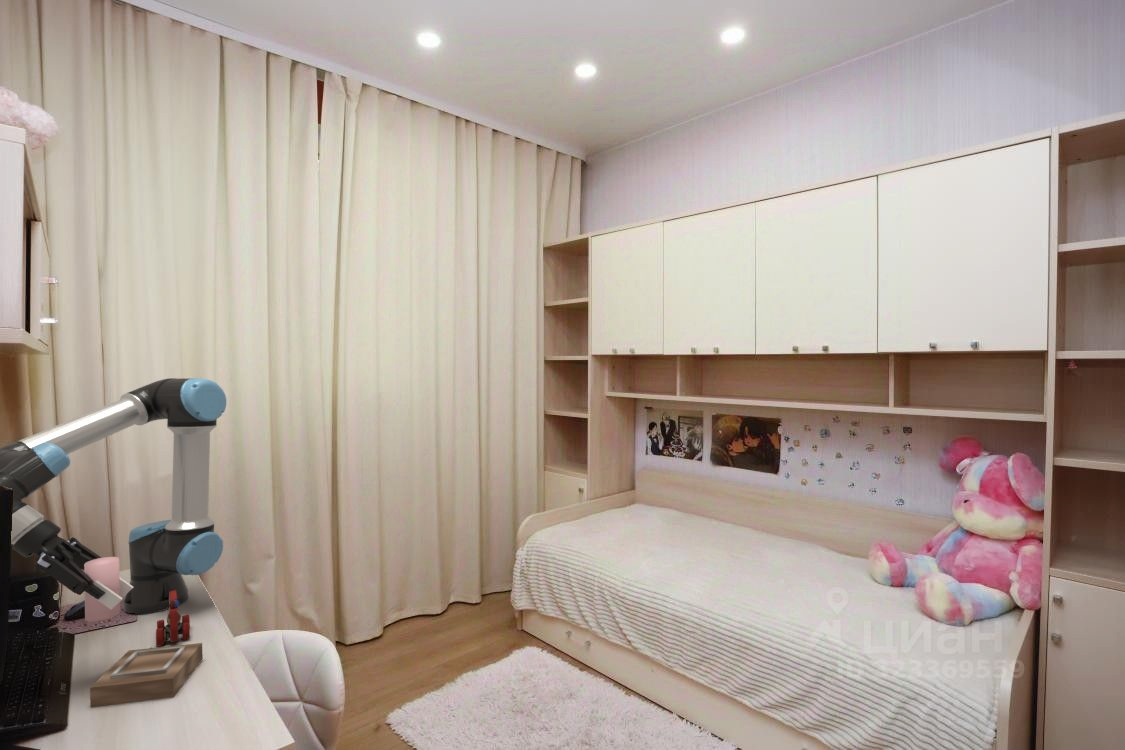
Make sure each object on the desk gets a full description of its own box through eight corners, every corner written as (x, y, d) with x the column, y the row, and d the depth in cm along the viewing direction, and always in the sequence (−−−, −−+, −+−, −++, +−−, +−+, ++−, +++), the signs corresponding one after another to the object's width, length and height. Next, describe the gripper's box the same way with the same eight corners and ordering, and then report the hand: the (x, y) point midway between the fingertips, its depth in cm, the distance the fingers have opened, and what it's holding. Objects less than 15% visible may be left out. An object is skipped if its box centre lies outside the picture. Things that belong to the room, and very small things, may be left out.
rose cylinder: (95, 610, 129) (95, 557, 128) (125, 608, 130) (125, 556, 129) (78, 622, 123) (77, 567, 122) (110, 620, 124) (109, 565, 123)
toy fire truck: (156, 652, 138) (154, 609, 137) (157, 632, 148) (155, 592, 147) (190, 644, 141) (189, 602, 141) (189, 624, 152) (188, 585, 151)
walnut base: (129, 667, 131) (128, 646, 131) (202, 659, 134) (202, 639, 134) (90, 707, 116) (89, 683, 116) (173, 697, 119) (172, 674, 119)
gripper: (36, 533, 129) (124, 594, 135) (-15, 561, 112) (90, 630, 118) (64, 507, 131) (150, 569, 137) (19, 531, 113) (121, 601, 119)
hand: (122, 597), depth 127 cm, fingers closed on rose cylinder, 6 cm apart
